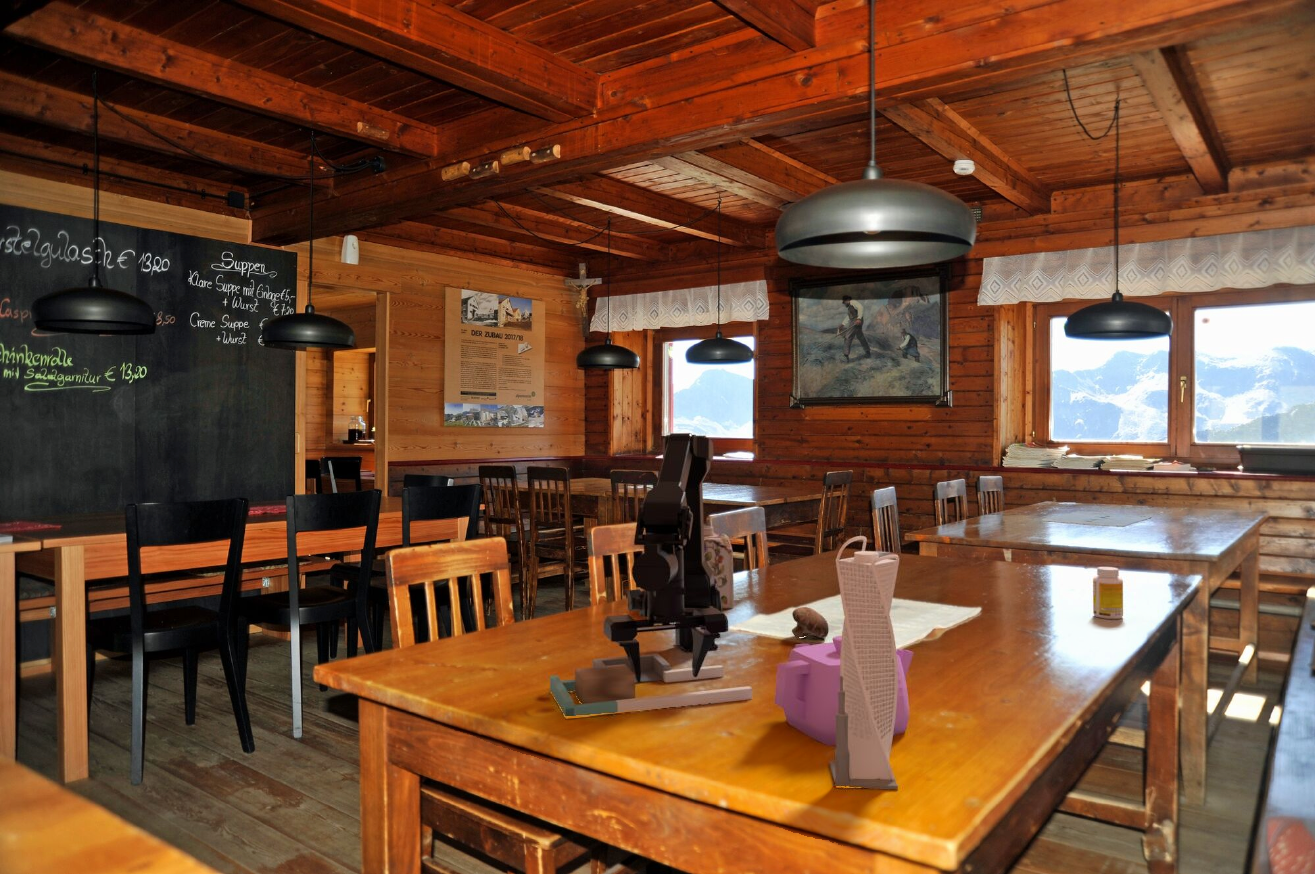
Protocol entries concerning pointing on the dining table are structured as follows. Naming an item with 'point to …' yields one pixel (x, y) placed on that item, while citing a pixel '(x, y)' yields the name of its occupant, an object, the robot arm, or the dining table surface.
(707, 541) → the decorative jar
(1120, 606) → the supplement bottle
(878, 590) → the skyscraper
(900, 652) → the teakettle
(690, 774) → the dining table surface
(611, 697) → the block
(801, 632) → the mushroom
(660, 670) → the walled track with bay
